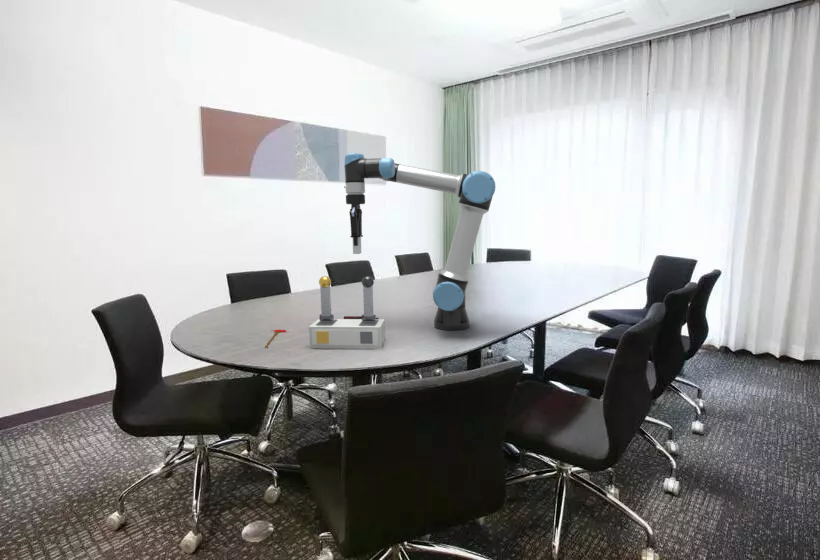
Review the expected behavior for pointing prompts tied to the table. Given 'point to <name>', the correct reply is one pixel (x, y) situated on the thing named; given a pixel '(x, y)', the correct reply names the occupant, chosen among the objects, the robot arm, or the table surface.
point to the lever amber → (325, 299)
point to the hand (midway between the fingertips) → (357, 253)
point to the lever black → (368, 299)
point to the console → (347, 334)
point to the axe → (274, 336)
